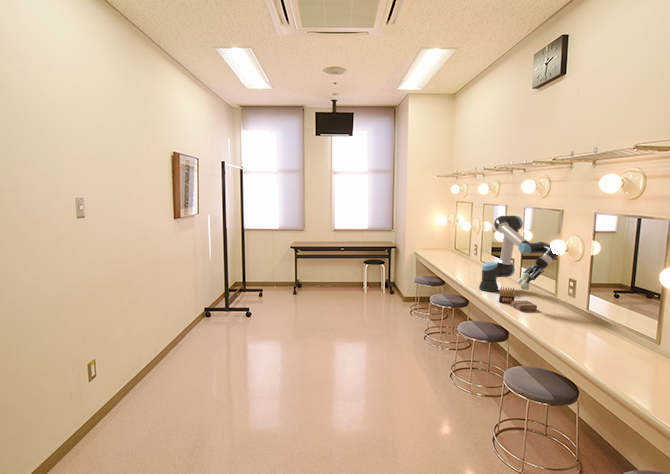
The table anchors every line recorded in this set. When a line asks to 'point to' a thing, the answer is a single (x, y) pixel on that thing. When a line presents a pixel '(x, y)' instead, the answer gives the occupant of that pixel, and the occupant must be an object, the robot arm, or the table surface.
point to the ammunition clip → (506, 295)
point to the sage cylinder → (524, 277)
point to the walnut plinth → (524, 305)
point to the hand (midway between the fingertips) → (520, 284)
